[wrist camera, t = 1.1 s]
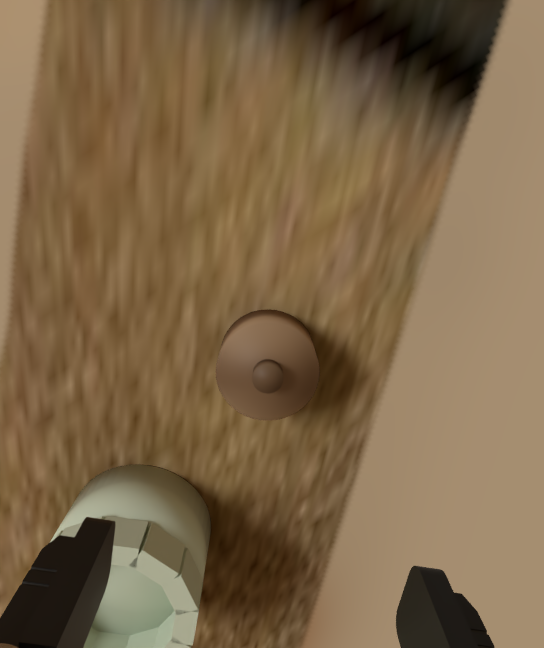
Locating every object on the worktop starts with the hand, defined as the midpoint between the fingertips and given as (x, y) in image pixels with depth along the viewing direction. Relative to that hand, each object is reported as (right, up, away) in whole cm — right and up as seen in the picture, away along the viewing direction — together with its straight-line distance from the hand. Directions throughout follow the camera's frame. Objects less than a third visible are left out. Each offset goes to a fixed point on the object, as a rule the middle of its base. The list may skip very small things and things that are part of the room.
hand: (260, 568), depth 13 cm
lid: (0, +5, +16) cm, 16 cm away
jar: (-8, -7, +19) cm, 21 cm away
